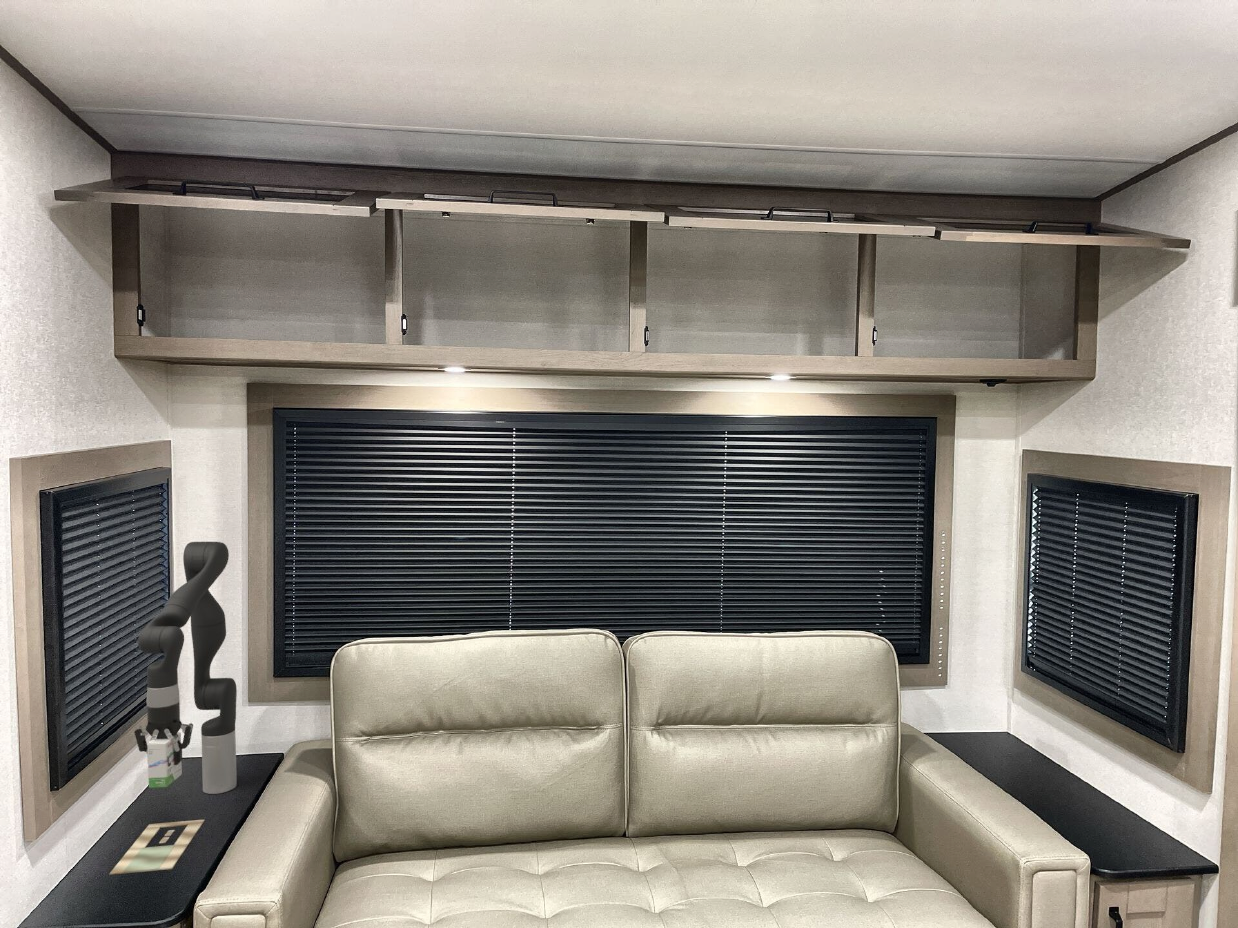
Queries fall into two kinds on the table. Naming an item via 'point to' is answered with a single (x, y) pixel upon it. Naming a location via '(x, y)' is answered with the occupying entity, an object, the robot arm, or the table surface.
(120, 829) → the table surface
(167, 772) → the ink box
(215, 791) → the robot arm
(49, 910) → the table surface
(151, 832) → the beige rectangular frame
